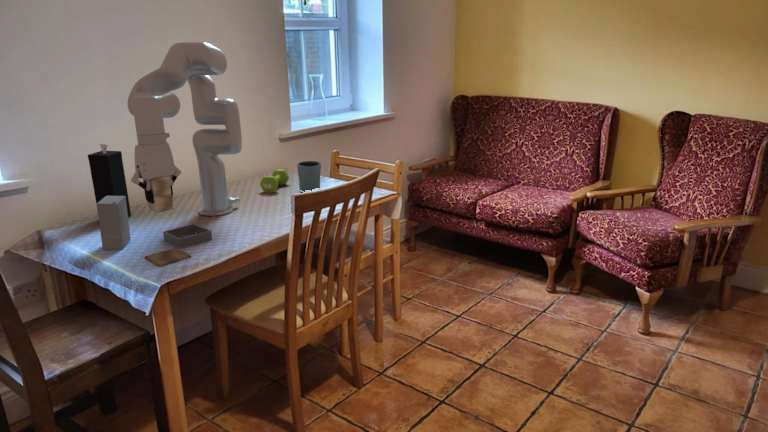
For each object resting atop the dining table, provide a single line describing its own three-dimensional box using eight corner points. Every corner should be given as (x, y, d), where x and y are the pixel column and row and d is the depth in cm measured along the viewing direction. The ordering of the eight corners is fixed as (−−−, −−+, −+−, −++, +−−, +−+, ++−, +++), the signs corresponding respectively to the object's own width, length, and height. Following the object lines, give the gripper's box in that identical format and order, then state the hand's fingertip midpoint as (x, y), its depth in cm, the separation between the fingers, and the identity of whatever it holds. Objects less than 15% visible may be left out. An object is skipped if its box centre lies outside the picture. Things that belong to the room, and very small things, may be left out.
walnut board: (175, 249, 180) (175, 247, 180) (191, 257, 174) (191, 255, 174) (144, 258, 174) (144, 256, 173) (159, 266, 167) (159, 264, 167)
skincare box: (111, 241, 188) (103, 195, 183) (133, 240, 188) (126, 194, 183) (101, 250, 180) (93, 202, 175) (125, 249, 180) (117, 202, 175)
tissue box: (118, 222, 206) (105, 146, 198) (99, 221, 208) (85, 145, 199) (131, 216, 214) (119, 142, 205) (112, 215, 215) (100, 141, 206)
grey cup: (302, 187, 250) (300, 160, 247) (324, 187, 249) (323, 160, 245) (295, 193, 241) (294, 165, 237) (319, 194, 240) (317, 166, 236)
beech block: (165, 205, 172) (160, 173, 169) (173, 209, 169) (168, 175, 166) (149, 209, 169) (144, 176, 166) (157, 213, 166) (152, 179, 162)
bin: (195, 231, 196) (194, 223, 195) (212, 239, 189) (211, 230, 188) (164, 240, 188) (162, 231, 187) (180, 248, 181) (179, 239, 180)
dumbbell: (276, 194, 241) (275, 177, 239) (259, 193, 242) (257, 176, 240) (290, 184, 256) (289, 168, 254) (274, 183, 258) (273, 168, 256)
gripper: (173, 134, 171) (180, 192, 176) (116, 142, 159) (125, 204, 165) (185, 136, 166) (193, 196, 171) (127, 145, 154) (137, 209, 160)
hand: (160, 199), depth 168 cm, fingers closed on beech block, 5 cm apart
